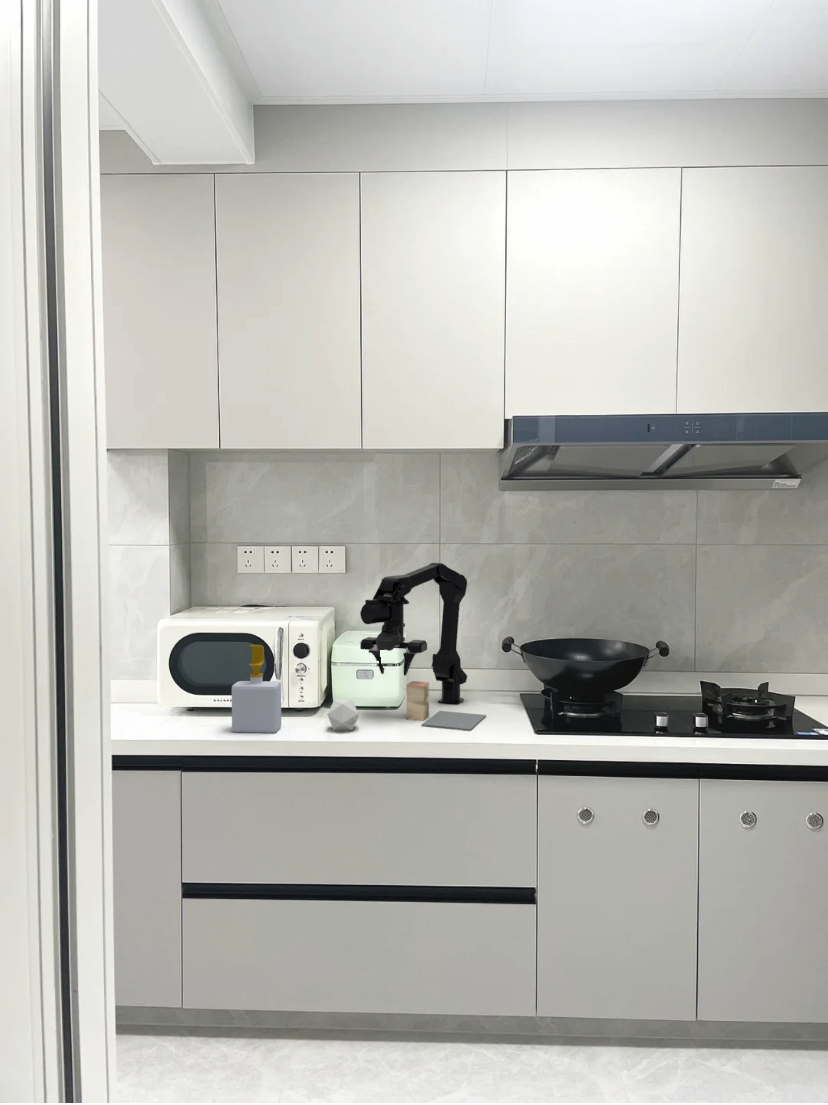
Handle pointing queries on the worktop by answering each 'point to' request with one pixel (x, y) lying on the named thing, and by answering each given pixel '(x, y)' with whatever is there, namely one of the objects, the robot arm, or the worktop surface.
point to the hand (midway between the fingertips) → (393, 674)
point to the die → (343, 715)
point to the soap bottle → (256, 700)
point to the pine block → (417, 700)
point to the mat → (454, 720)
